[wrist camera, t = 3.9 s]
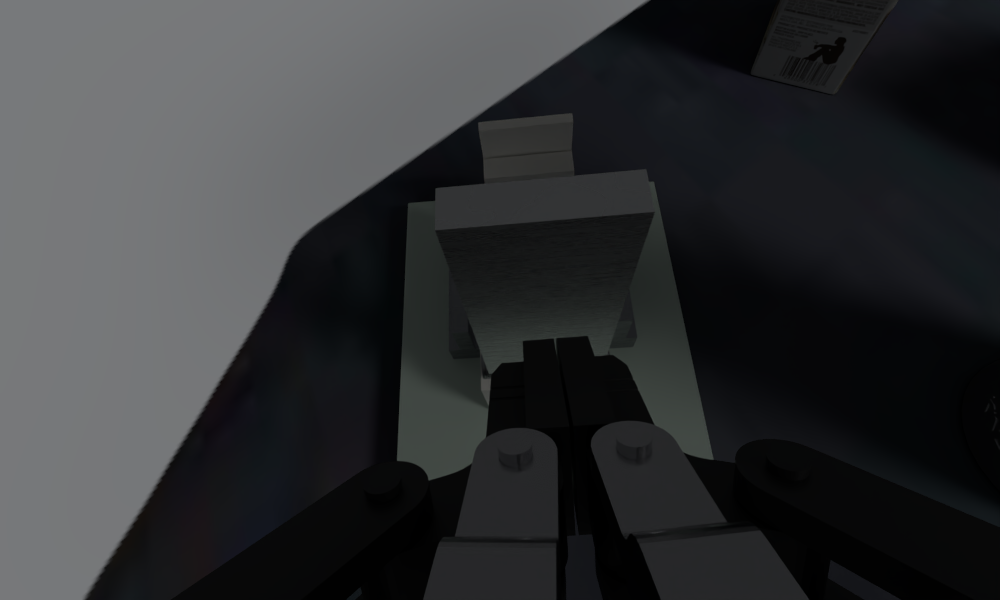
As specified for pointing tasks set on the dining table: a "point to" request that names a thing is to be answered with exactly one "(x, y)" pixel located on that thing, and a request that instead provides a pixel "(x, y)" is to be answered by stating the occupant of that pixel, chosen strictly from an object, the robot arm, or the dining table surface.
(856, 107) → the dining table surface
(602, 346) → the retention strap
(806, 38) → the coffee box
